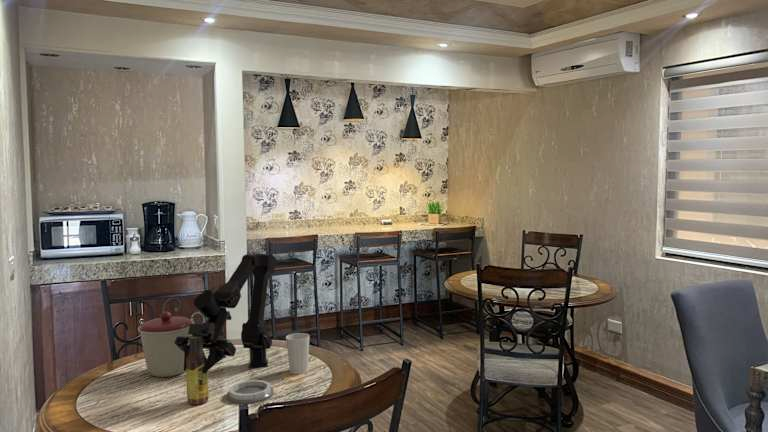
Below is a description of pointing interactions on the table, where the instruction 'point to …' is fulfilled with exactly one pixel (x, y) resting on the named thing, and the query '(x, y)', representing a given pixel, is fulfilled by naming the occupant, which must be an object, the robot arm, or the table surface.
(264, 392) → the grey shallow dish
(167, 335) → the canister
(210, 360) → the robot arm
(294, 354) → the cup
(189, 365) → the sauce bottle
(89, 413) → the table surface
